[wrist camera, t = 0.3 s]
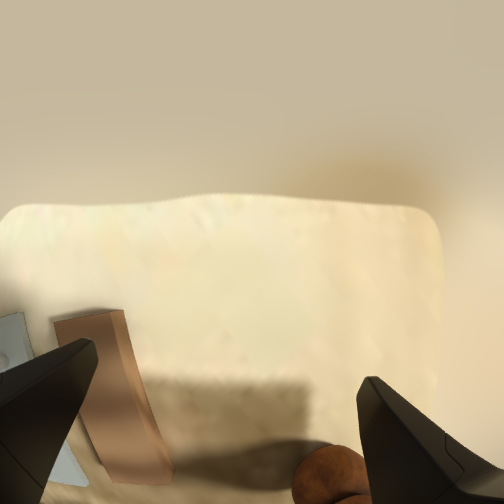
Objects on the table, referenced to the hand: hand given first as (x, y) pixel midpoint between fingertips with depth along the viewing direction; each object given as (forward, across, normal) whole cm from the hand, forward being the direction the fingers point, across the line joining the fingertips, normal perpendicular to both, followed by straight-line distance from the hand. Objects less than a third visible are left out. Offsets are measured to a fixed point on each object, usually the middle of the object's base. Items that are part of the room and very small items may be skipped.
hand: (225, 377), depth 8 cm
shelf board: (+9, +10, +14) cm, 20 cm away
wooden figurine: (+7, -9, +18) cm, 21 cm away
